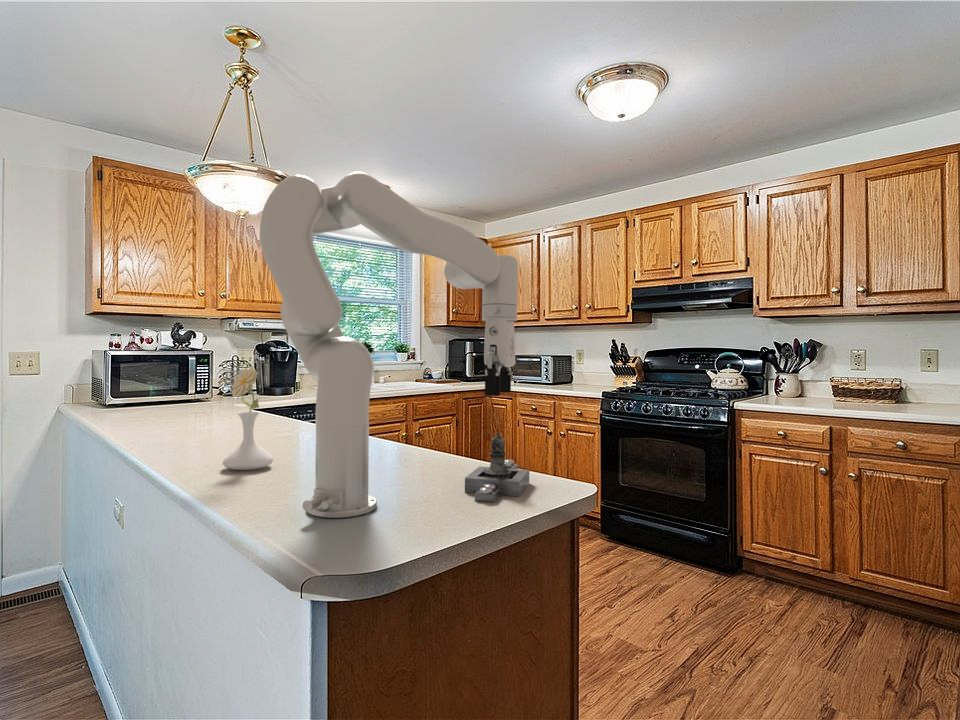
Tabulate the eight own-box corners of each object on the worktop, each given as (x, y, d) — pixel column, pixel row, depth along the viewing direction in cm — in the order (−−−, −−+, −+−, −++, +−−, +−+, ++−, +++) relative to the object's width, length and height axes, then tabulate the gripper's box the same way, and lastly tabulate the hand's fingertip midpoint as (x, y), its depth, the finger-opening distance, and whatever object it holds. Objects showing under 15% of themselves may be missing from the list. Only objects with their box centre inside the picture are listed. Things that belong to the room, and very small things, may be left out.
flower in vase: (219, 466, 133) (219, 365, 132) (268, 461, 139) (268, 365, 138) (226, 477, 122) (227, 367, 121) (279, 471, 128) (279, 367, 127)
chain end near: (513, 504, 102) (513, 492, 102) (456, 499, 106) (456, 487, 105) (529, 483, 119) (529, 473, 119) (479, 479, 122) (479, 469, 122)
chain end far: (519, 496, 108) (519, 478, 108) (464, 492, 111) (464, 474, 111) (533, 477, 125) (533, 461, 125) (485, 473, 128) (486, 458, 128)
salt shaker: (478, 487, 115) (478, 431, 115) (497, 483, 119) (498, 429, 119) (496, 492, 111) (497, 435, 111) (516, 488, 115) (517, 432, 115)
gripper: (507, 310, 105) (506, 397, 105) (524, 316, 122) (523, 391, 122) (471, 311, 107) (469, 396, 107) (492, 316, 124) (491, 390, 124)
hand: (498, 393), depth 115 cm, fingers open, 9 cm apart
